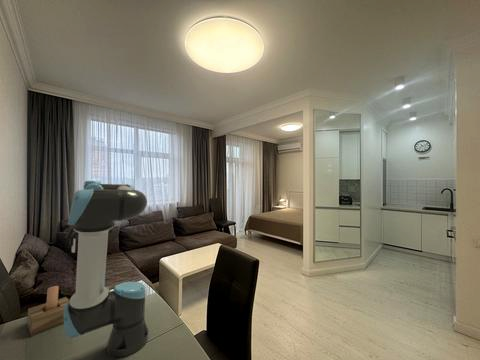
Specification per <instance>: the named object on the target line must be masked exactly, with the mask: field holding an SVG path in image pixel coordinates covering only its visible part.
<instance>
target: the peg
mask: <svg viewBox="0 0 480 360" xmlns="http://www.w3.org/2000/svg"><path fill="white" fill-rule="evenodd" d="M59 287H60V286H59V285H53V286H50V287H48V288H47V292H46V302H45V303H46V311H49V310H52V309H55V308H57V304H58V299H59V289H60V288H59Z"/></svg>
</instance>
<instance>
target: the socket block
mask: <svg viewBox="0 0 480 360" xmlns="http://www.w3.org/2000/svg"><path fill="white" fill-rule="evenodd" d="M68 302H70V299H69V298H68V297H67V296H64V297H62V298H58V304H57V308H55V309H52V310H49V311H46V303H47V302H45V303H42V304H39V305H36V306H33V307H30V308H28V309H27V320H26V321H27V322H26V326H27V325H28V326H27V328H28V331H29V335H30V337H31V338H32V337H34V336H36V335H39V334H41V333H45V332H46V331H49V330H52V329H54V328H57V327H59V326H62V325H64V306H65V304H66V303H68Z"/></svg>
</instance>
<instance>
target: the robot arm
mask: <svg viewBox="0 0 480 360" xmlns="http://www.w3.org/2000/svg"><path fill="white" fill-rule="evenodd" d="M147 205H148V199H147V197H146V195H145V194H144V193H143V192H141V191H140V190H137V189H135V186H134V185H133V184H127V183H125V184H115V183H114V184H113V183H112V184H111V183H101V181H99V180H85V181H84V183H83V189H79V190H76V191H75V193H74V194H73V198H72V202H71V207H70V212H69V215H68V220H67V221H68V222H67V224H68V225H71V227H69V230H68V232H67V234H65V236H64V238H65V239H67V240H69V245H68V246H69V247H71V253H73V254H74V253H76V239H77V238H76V237H77V236H78V243H77V259H76V260H77V261H76V276H75V277H76V278H75V292H74V293H73V294H72V295H71V297H70V298H69V301H70V302H68V303H66V304H65V306H64V324H63V329H64V333H65V337H66V338H70V339H72V338H75V337H79V336H80V337H81V336H83V335H85V334H88V333H90V332H93V331H96V330H99V329H102V328H104V327H107V326H110V325H112V328H111V331H110V334H109V337H108V340H107V343H106V353H107V355H108V356H110V357H111V358H112V357H113V358H123V357H127V356H129V355H132V354H134V353H136V352H138V351H139V350H141V348H143V347H144V346H145V345H146V344H147V342H148V341H149V333H150V332H149V327H148V325H147V322H146V319H145V317H146V316H145V315H146V314H145V313H146V295H147V294H146V287H145V286H146V285H144V284H143V283H141V282H138V281H124V282H121V283H119V284H116V285H115V286H114V288H113V290H112V291H110V290H109V291H108V289H107V287H106V286H105V284H106V283H105V282H106V271H107V270H106V269H107V268H106V267H107V256H108V255H107V254H108V243H109V234H112V233H113V230H112V229H113V228H114V227H115V222H120V221H123V222H124V221H127V220H132V219H134V218H136V217H138V216H139V215H141V214H142V213H144V211H145V209H146V208H147ZM73 232H74V233H73Z"/></svg>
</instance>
